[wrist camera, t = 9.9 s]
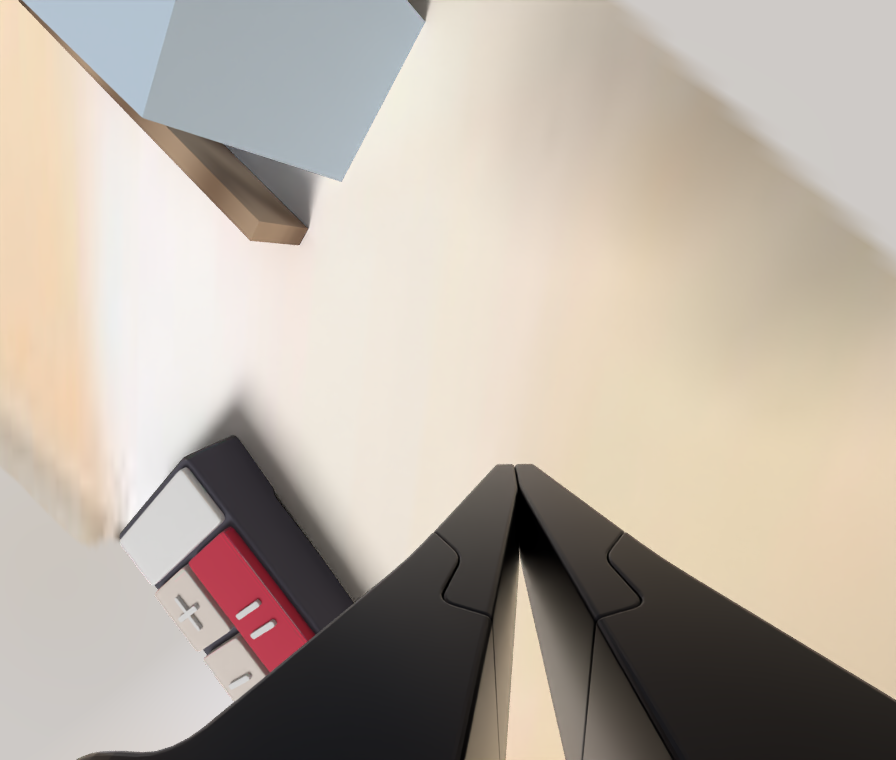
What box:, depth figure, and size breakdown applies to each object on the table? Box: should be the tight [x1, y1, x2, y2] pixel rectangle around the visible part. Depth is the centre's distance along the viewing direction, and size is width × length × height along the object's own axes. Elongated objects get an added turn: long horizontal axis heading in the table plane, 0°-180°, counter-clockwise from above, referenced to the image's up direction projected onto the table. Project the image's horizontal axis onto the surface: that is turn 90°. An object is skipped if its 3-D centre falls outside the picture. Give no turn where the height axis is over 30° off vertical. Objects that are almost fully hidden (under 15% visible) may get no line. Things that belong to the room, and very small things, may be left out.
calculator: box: [120, 436, 354, 702], centre depth 27 cm, size 11×4×15 cm
